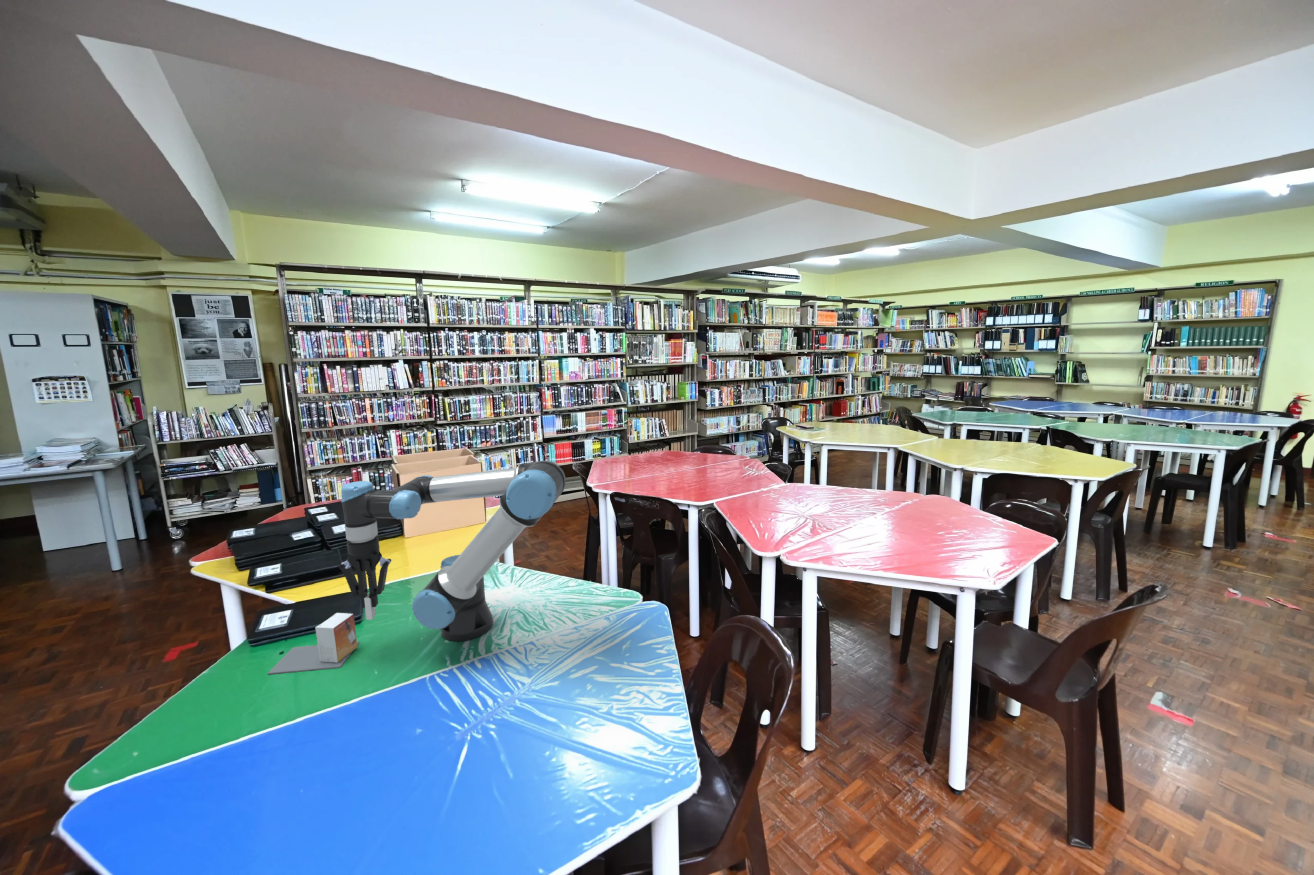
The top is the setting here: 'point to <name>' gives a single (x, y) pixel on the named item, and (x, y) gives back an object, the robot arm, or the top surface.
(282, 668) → the mat
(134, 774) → the top surface
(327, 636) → the small box
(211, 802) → the top surface
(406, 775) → the top surface
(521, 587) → the top surface
